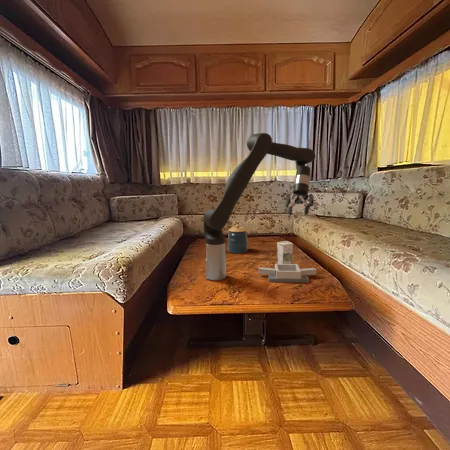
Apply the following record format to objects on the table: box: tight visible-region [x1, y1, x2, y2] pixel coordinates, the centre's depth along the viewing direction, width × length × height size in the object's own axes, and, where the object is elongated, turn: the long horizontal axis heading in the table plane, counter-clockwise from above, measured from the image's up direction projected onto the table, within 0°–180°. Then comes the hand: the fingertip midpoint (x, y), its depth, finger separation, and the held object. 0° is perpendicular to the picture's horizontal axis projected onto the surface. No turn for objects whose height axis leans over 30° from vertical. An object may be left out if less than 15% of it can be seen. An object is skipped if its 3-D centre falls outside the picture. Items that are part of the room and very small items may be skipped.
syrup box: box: [276, 240, 294, 264], centre depth 144 cm, size 6×6×14 cm
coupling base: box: [258, 263, 317, 284], centre depth 133 cm, size 27×12×5 cm, turn 85°
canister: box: [227, 223, 249, 254], centre depth 181 cm, size 13×13×18 cm
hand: (297, 214), depth 142 cm, fingers open, 8 cm apart
